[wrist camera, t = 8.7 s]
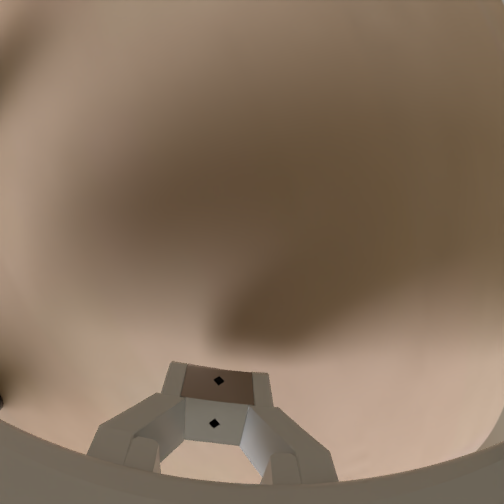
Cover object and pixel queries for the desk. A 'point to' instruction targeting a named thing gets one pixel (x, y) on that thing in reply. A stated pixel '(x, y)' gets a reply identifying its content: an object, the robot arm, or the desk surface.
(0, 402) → the outer post
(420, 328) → the desk surface
